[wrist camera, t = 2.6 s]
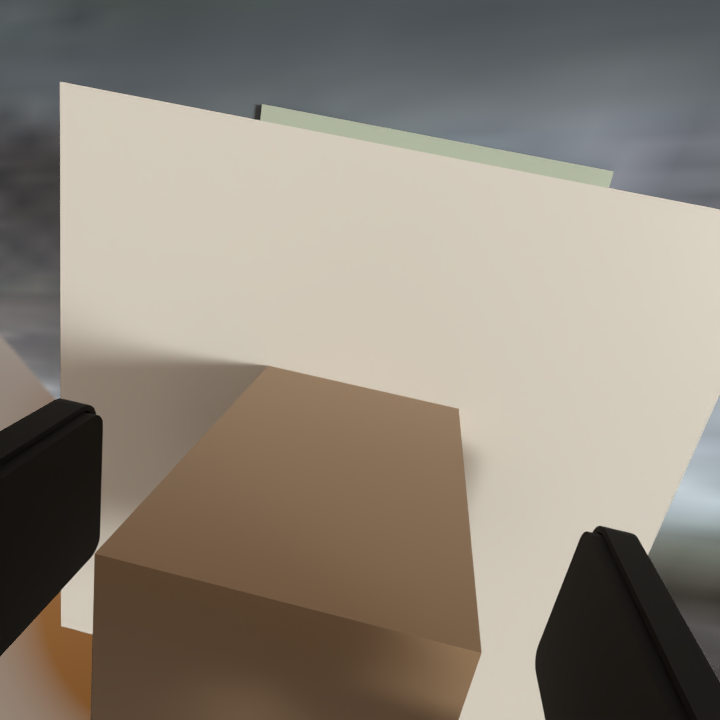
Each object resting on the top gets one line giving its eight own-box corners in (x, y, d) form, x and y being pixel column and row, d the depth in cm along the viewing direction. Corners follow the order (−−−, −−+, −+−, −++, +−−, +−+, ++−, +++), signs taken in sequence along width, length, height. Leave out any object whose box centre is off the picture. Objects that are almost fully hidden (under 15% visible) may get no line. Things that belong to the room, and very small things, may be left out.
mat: (611, 171, 24) (614, 171, 24) (511, 478, 29) (512, 482, 29) (264, 105, 25) (262, 104, 25) (229, 412, 30) (226, 415, 30)
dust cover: (571, 197, 24) (1393, 294, 3) (493, 453, 28) (643, 1177, 8) (287, 142, 25) (-437, -52, 4) (253, 398, 29) (-184, 914, 9)
